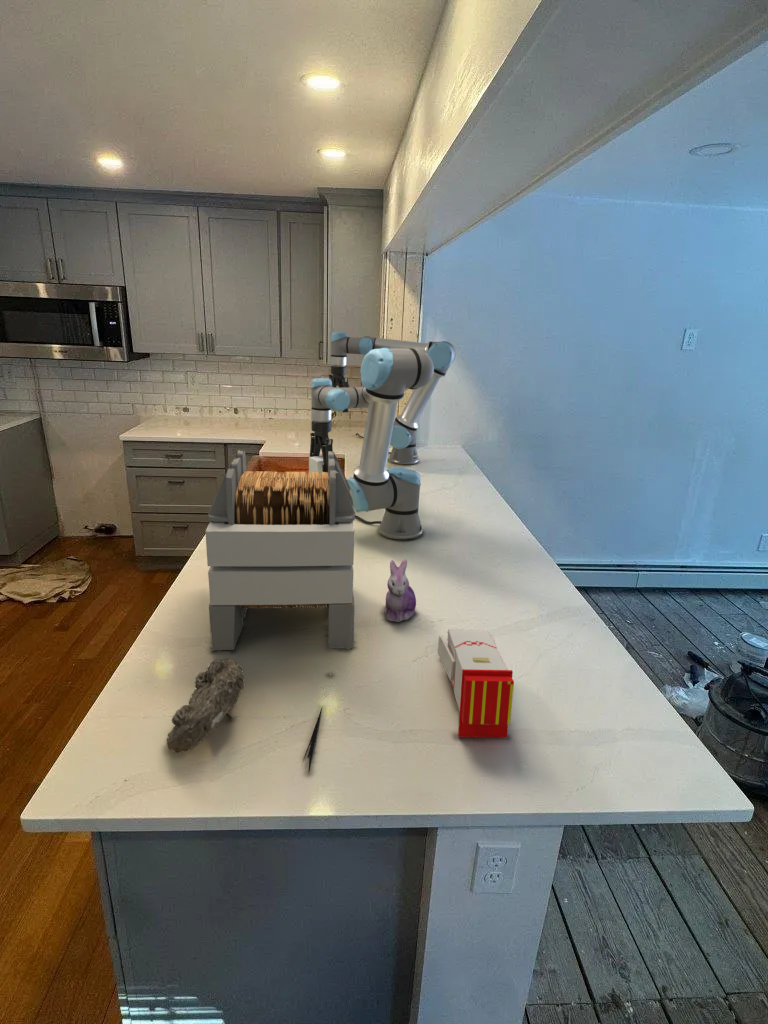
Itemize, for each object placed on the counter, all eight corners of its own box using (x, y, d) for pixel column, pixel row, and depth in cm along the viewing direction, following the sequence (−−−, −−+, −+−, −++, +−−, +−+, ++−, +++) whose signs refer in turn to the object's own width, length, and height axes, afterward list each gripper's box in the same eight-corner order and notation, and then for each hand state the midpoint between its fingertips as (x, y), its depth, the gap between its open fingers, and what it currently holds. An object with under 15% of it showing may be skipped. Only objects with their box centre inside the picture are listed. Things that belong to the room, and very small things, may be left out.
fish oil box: (333, 490, 221) (334, 459, 217) (316, 493, 217) (317, 461, 213) (324, 485, 227) (325, 454, 223) (308, 487, 223) (308, 456, 219)
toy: (488, 613, 130) (523, 677, 101) (484, 667, 133) (517, 744, 104) (435, 612, 130) (455, 676, 101) (432, 666, 133) (451, 743, 103)
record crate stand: (231, 583, 159) (223, 441, 145) (347, 582, 163) (350, 443, 149) (209, 653, 127) (196, 479, 114) (354, 649, 131) (359, 481, 117)
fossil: (192, 660, 117) (244, 628, 112) (224, 691, 120) (276, 661, 115) (142, 746, 98) (202, 712, 93) (182, 779, 101) (242, 748, 96)
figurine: (392, 627, 141) (395, 572, 136) (374, 608, 149) (376, 556, 144) (425, 619, 145) (429, 566, 140) (405, 601, 154) (408, 550, 149)
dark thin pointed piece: (331, 679, 122) (336, 673, 122) (307, 777, 96) (313, 769, 95) (324, 675, 122) (329, 669, 121) (298, 772, 95) (304, 764, 95)
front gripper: (343, 424, 207) (342, 484, 215) (317, 415, 223) (317, 471, 230) (325, 426, 203) (325, 487, 211) (300, 416, 219) (300, 473, 226)
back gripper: (359, 368, 265) (358, 413, 273) (332, 363, 284) (331, 405, 292) (345, 368, 261) (344, 414, 268) (319, 363, 280) (318, 406, 287)
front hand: (321, 478), depth 221 cm, fingers closed on fish oil box, 7 cm apart
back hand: (337, 410), depth 280 cm, fingers open, 13 cm apart
